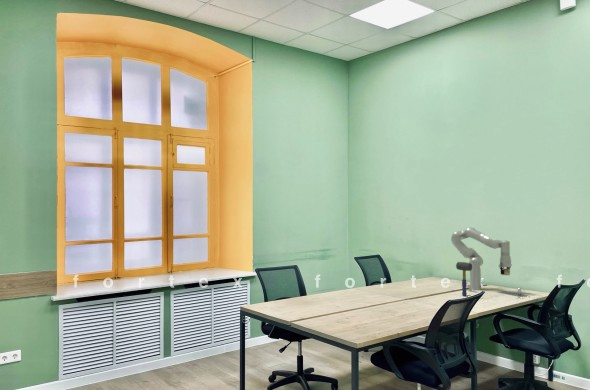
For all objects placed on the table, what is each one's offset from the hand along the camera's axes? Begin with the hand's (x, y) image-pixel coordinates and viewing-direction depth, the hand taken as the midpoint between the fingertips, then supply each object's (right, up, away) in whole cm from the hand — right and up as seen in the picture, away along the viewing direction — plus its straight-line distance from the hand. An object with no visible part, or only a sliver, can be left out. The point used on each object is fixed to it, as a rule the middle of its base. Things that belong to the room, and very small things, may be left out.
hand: (505, 273), depth 406 cm
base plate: (+3, -18, -7) cm, 20 cm away
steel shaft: (+7, -17, -13) cm, 22 cm away
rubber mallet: (-40, -19, -8) cm, 45 cm away
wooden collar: (0, -1, 0) cm, 1 cm away
